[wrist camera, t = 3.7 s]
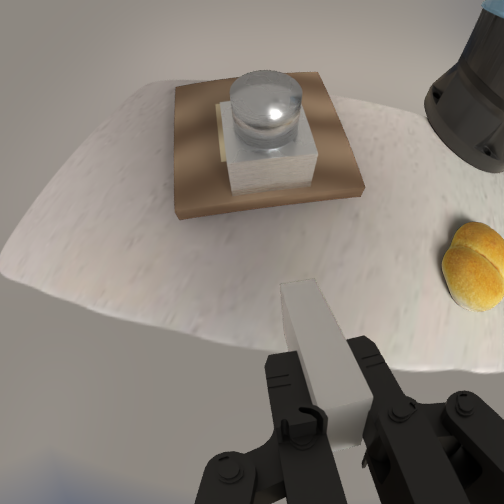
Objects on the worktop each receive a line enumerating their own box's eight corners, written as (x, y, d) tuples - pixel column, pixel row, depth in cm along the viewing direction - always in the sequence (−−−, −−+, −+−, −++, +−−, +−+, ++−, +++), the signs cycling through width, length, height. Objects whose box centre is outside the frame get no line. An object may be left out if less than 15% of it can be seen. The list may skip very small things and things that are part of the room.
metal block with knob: (310, 186, 25) (325, 120, 18) (232, 196, 25) (221, 130, 17) (294, 129, 27) (301, 61, 20) (225, 137, 27) (214, 69, 20)
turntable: (360, 196, 26) (365, 187, 25) (179, 220, 26) (174, 211, 25) (316, 82, 32) (317, 71, 30) (178, 97, 32) (175, 86, 30)
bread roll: (427, 282, 25) (448, 268, 22) (459, 217, 28) (478, 200, 24) (481, 332, 23) (506, 325, 20) (507, 264, 26) (529, 252, 22)
